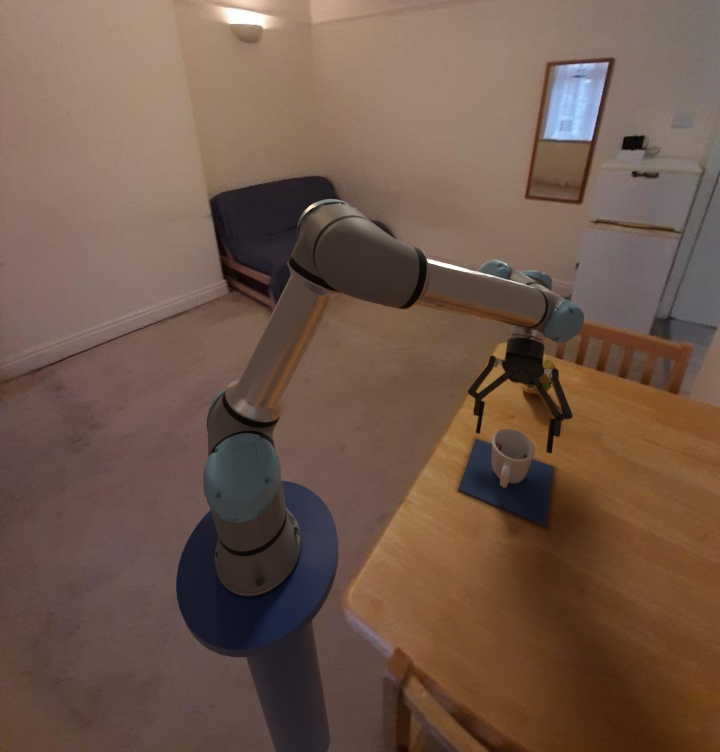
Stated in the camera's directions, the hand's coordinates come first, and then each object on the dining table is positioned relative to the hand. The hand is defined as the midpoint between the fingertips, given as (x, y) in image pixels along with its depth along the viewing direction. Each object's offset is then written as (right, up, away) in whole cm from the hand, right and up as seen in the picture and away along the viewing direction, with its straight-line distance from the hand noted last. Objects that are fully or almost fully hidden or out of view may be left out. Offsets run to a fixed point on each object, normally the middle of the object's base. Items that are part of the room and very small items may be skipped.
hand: (512, 442), depth 82 cm
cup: (-1, -7, 0) cm, 7 cm away
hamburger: (+14, +7, +20) cm, 26 cm away
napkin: (-1, -7, 0) cm, 7 cm away
